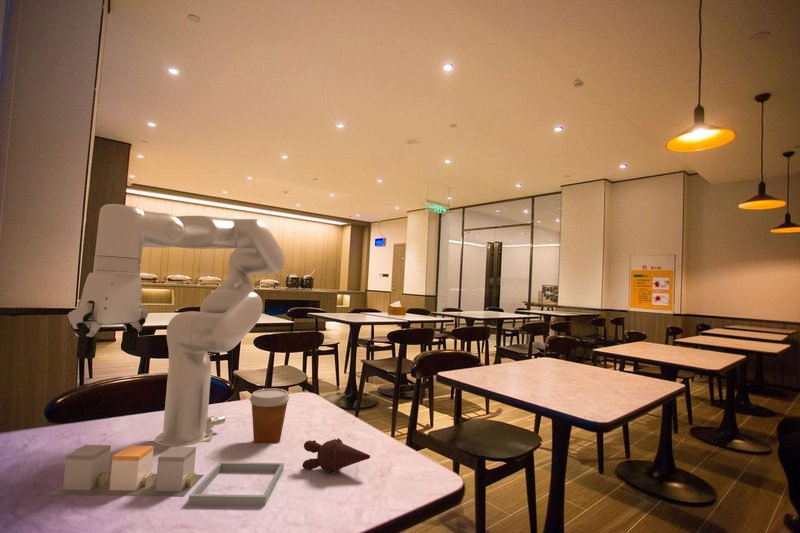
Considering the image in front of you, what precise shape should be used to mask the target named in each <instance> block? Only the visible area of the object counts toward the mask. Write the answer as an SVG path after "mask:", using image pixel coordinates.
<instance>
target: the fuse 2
mask: <svg viewBox="0 0 800 533" xmlns="http://www.w3.org/2000/svg"><path fill="white" fill-rule="evenodd" d="M196 452H197V447H196V446H175V447H171V446H169V448H167V450H164V452H163V453H161V454H160V455H159V456H158V457H157V468H156V474H157V478H156V489H155V491H182V490H183V489H184V488H185V487H186V486H187V479H188V478H189V477H190V476H191V475H192V474H195V467H196V466H195V464H196Z"/></svg>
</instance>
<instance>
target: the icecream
mask: <svg viewBox="0 0 800 533" xmlns="http://www.w3.org/2000/svg"><path fill="white" fill-rule="evenodd" d="M303 448H304V450H305V451H307V452H309V453H312V454H315V453H317V454H316V457H315V458H308V459H306V460H304V461H303V462H302V468H303V469H304V470H306V469H308V470H309V471H312V470H315V469H317V468H319V467H320V468H321V470H323V471H324V472H326V473H331V474H333V472H334V474H337V473H338V474H340V471H339V469H340V470H341V469H343V468H346V467H349V466H351V465H354V464H357V463H361V462H363V461H366V460H370V458H371V455H370V454H368V453H366V452H363V451H361V450H359V449H357V448H354V447H352V446H350V445H347V444H345V443H343V441H342V439H340V437H338V438H335V439H331V440H327V441H326V442H324V443H322V444H320V443H318V442H317V440H315V439H314V440H307V441H304V444H303ZM308 470H307V471H308Z"/></svg>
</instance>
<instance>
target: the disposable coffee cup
mask: <svg viewBox="0 0 800 533" xmlns="http://www.w3.org/2000/svg"><path fill="white" fill-rule="evenodd" d="M290 398H291V397H290V396H289V392H288V391H287V390H286V389H282V388H281V389H280V388H263V389H257V390H256V391H253V392H252V394H251V397H250V399H249V401H250V403H251V415H252V433H253V434H252V435H253V444H268V445H270V444H273V445H274V444H275V445H278V444H279V443H280V442H281V437H282V432H283V428H284V421H285V417H286V416H285V415H286V411H287V406H288V402H289V400H290Z"/></svg>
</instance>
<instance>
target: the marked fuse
mask: <svg viewBox="0 0 800 533" xmlns="http://www.w3.org/2000/svg"><path fill="white" fill-rule="evenodd" d="M154 449H155V448H154V445H128V446H126V447H124V448H123V449H122V450H120V451H118V452H117V453H114V454H113V455H112V459H111V471H110V473H111V479H110V490H132V491H136V490H137V489H138V488H140V487H141V486H142V482H143V477H145V476H146V475H147V474H148V473H152V470H153V458H154Z"/></svg>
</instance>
